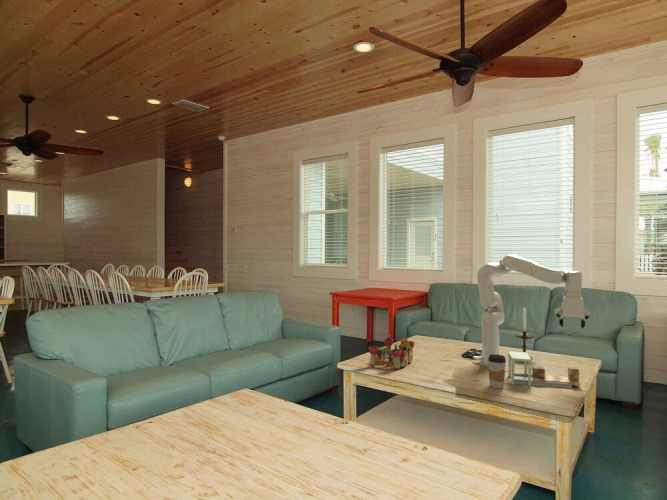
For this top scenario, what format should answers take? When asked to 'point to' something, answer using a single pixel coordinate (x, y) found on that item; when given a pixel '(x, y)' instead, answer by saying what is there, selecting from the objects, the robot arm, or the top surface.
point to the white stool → (519, 357)
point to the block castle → (392, 353)
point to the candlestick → (524, 332)
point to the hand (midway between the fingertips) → (571, 327)
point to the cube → (538, 372)
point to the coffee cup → (496, 370)
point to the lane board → (523, 379)
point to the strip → (571, 379)
